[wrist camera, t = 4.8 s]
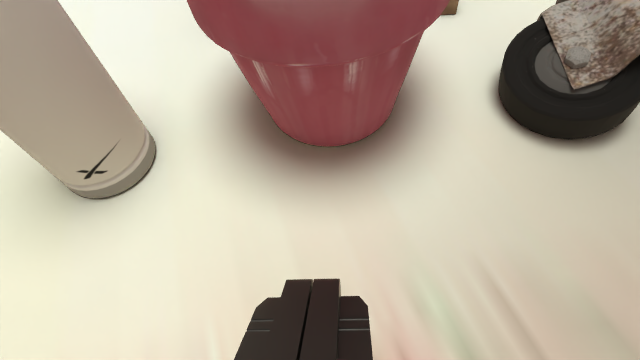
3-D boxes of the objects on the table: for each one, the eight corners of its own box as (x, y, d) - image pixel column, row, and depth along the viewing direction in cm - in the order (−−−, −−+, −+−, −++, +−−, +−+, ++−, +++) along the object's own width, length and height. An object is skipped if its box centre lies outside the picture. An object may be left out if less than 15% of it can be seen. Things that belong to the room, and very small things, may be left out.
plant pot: (240, 45, 33) (184, -141, 22) (408, 27, 33) (432, -172, 22) (229, 190, 25) (134, 11, 15) (449, 169, 25) (518, -33, 14)
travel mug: (136, 207, 25) (-303, -241, 9) (48, 192, 26) (-484, -225, 10) (175, 132, 28) (-87, -300, 12) (96, 122, 30) (-244, -282, 13)
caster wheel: (511, 164, 28) (478, 53, 32) (702, 131, 25) (639, 15, 29) (528, 114, 22) (485, -14, 26) (780, 64, 19) (687, -70, 23)
